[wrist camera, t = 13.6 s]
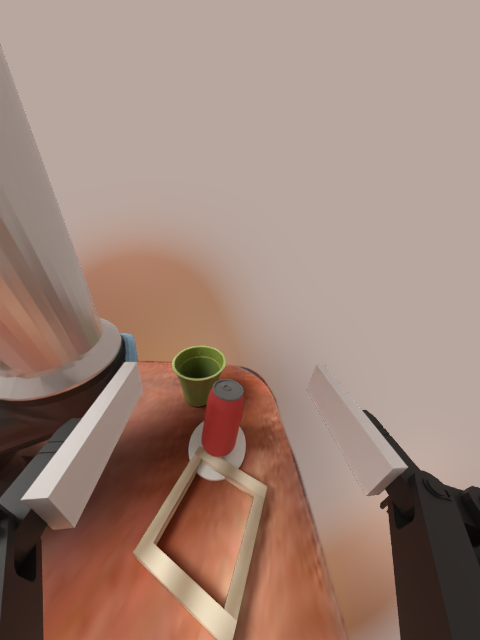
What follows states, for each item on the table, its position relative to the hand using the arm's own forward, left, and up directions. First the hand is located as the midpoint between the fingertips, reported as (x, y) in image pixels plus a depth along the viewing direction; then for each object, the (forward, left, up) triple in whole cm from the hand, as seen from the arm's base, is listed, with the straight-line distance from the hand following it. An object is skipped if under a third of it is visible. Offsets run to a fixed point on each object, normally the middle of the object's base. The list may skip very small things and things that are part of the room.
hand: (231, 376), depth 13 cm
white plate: (-5, +9, -27) cm, 29 cm away
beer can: (-5, +8, -26) cm, 28 cm away
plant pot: (-15, +17, -28) cm, 36 cm away
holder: (-1, 0, -27) cm, 27 cm away
